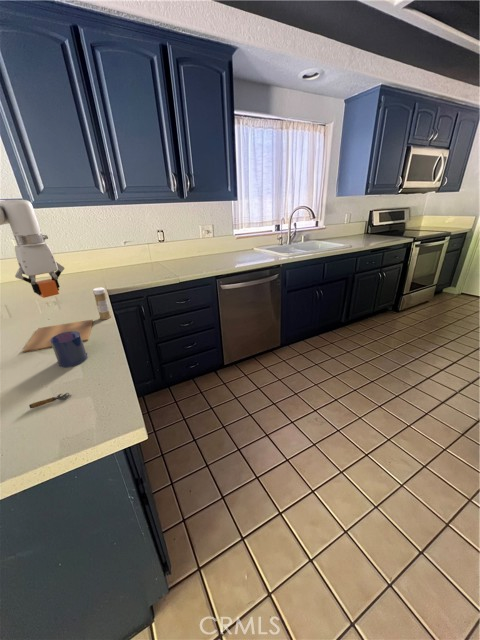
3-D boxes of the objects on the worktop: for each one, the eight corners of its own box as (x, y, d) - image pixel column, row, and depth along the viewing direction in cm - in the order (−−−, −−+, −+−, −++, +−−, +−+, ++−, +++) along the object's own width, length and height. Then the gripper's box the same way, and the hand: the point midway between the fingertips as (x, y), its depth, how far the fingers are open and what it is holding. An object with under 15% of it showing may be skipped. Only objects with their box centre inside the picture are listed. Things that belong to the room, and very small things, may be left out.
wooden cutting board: (23, 352, 91) (22, 351, 91) (38, 329, 108) (38, 328, 108) (88, 340, 98) (87, 339, 97) (93, 320, 115) (92, 319, 114)
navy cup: (55, 370, 81) (46, 345, 77) (60, 356, 88) (52, 333, 84) (86, 363, 84) (78, 340, 80) (89, 351, 91) (82, 329, 87)
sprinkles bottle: (100, 316, 119) (93, 287, 113) (111, 315, 120) (104, 286, 114) (99, 320, 115) (91, 290, 109) (110, 318, 116) (103, 289, 110)
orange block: (43, 298, 93) (38, 284, 91) (38, 295, 96) (33, 282, 94) (59, 294, 97) (54, 280, 94) (54, 291, 99) (49, 278, 97)
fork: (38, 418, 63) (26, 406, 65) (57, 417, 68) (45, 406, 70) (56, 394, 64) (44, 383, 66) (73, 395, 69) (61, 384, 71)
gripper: (54, 236, 96) (68, 284, 104) (-6, 243, 84) (16, 296, 92) (62, 237, 92) (77, 287, 100) (1, 244, 80) (23, 300, 88)
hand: (47, 291), depth 96 cm, fingers closed on orange block, 5 cm apart
